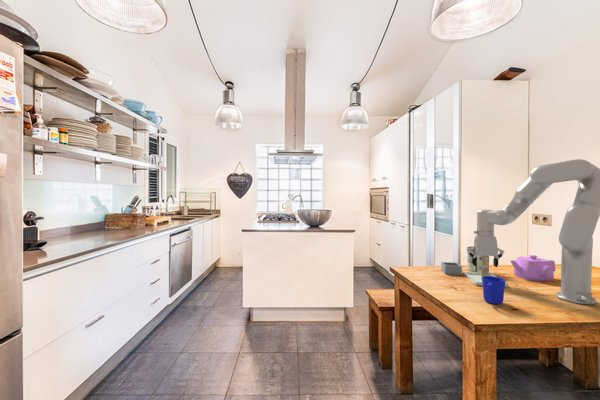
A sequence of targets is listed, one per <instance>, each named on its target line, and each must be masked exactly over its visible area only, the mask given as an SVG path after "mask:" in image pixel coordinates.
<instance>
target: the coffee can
mask: <svg viewBox="0 0 600 400" xmlns="http://www.w3.org/2000/svg"><path fill="white" fill-rule="evenodd" d="M471 247H472V246H467V247H466V250H467V249H468V248H471ZM471 253H472V254H473V253H474V250H471ZM466 254H467V256H466V257H467V258H466V259H467V260H466V261H467V265H466V266H467V272H480V273H482V256H481V255H478V256H477V257H476V259H477V266H474V265H473V264H472V257H471V256H470V255H469V254H468V252H467V251H466Z"/></svg>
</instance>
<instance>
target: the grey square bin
mask: <svg viewBox="0 0 600 400" xmlns="http://www.w3.org/2000/svg"><path fill="white" fill-rule="evenodd" d="M440 262H441V263H440V270H441V272H442V273H444V275H450V276H451V275H452V276H463V266H462V265H461V264H459V263H458V262H448V261H440Z"/></svg>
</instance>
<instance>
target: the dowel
mask: <svg viewBox="0 0 600 400" xmlns="http://www.w3.org/2000/svg"><path fill="white" fill-rule="evenodd" d="M489 273H490V256H482V275H481V280H482V277H483V276H489Z"/></svg>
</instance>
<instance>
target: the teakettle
mask: <svg viewBox="0 0 600 400" xmlns="http://www.w3.org/2000/svg"><path fill="white" fill-rule="evenodd" d="M510 263H511V265H512V266H513V273H514V276H516V277H518V278H521V279H523V280H525V279H526V281H532V280H534V281H535V282H552V281H553V280H554V277H555V272H556V261H555V260H552V259H545V258H541V257H538V255H534V254H530V255H529V256H517V257H516V258H515V260H514V259H513V260H512V259H511V260H510ZM534 281H533V282H534Z"/></svg>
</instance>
